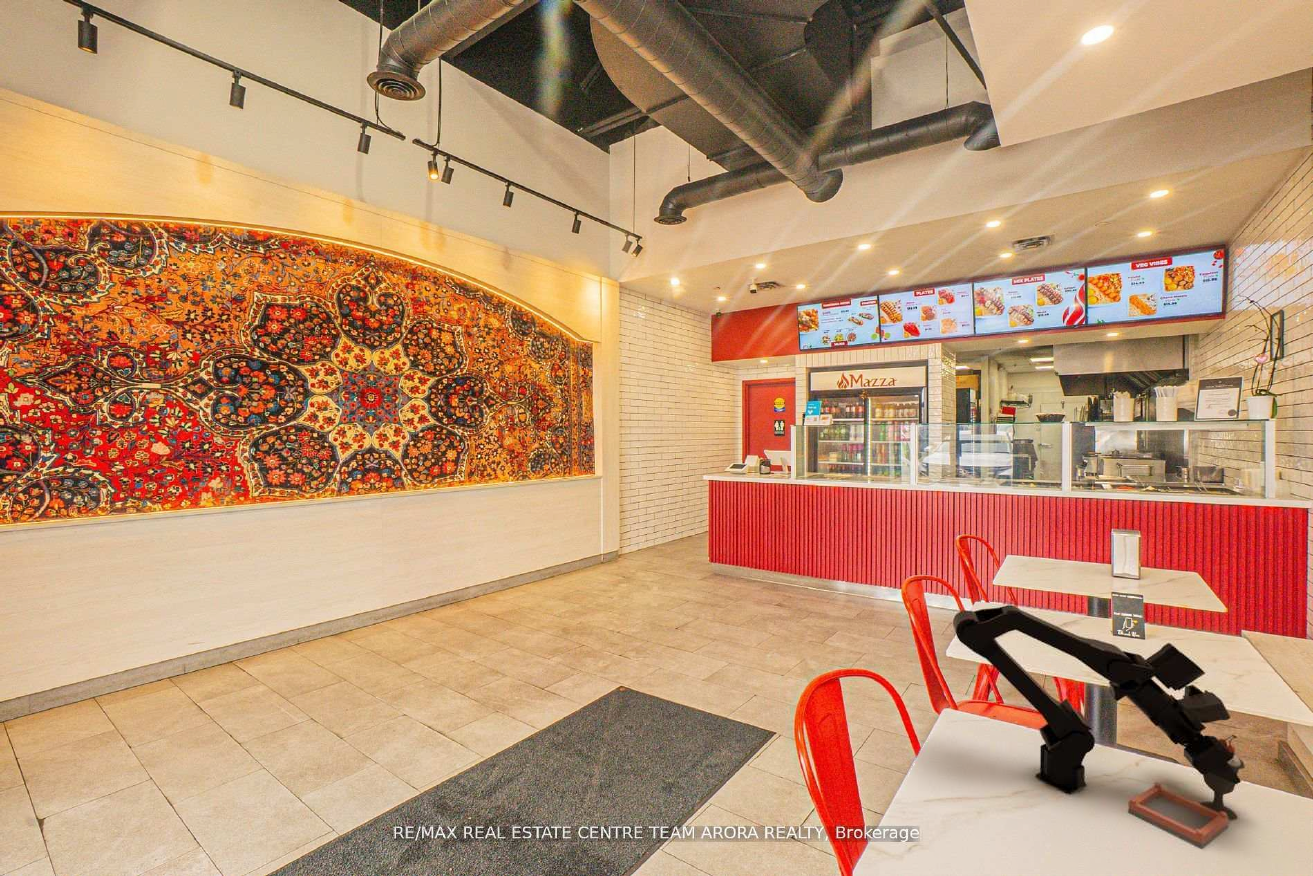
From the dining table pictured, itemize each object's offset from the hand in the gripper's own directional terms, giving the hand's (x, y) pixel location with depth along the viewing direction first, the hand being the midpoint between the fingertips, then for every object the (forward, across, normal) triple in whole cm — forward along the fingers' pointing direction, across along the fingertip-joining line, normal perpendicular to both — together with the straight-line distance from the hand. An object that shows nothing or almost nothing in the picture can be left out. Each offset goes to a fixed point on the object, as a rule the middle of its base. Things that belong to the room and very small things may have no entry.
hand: (1228, 772), depth 109 cm
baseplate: (-1, -6, +12) cm, 13 cm away
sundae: (+5, 0, +6) cm, 8 cm away
